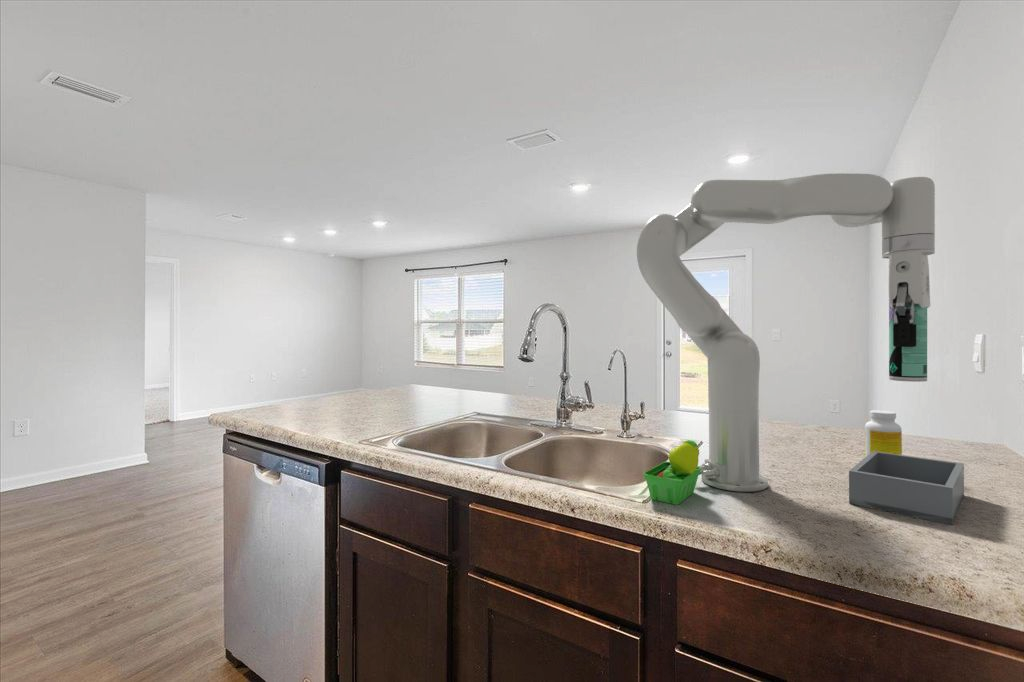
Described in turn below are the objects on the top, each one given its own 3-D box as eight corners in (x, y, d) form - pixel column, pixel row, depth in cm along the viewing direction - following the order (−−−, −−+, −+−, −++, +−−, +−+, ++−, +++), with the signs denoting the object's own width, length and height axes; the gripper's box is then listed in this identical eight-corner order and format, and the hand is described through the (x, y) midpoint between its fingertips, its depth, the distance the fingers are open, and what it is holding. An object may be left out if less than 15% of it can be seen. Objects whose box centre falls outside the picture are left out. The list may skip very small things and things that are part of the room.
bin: (952, 525, 78) (952, 488, 78) (849, 503, 88) (848, 470, 88) (963, 494, 92) (963, 463, 91) (873, 479, 102) (873, 450, 102)
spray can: (921, 379, 91) (921, 272, 90) (932, 382, 86) (932, 269, 85) (885, 378, 93) (885, 274, 93) (893, 381, 88) (893, 271, 88)
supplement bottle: (908, 472, 106) (908, 414, 106) (874, 471, 107) (874, 413, 107) (891, 464, 112) (891, 409, 112) (859, 463, 114) (859, 409, 113)
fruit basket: (665, 484, 101) (664, 431, 100) (708, 493, 95) (708, 436, 95) (641, 500, 92) (641, 441, 92) (688, 510, 86) (688, 447, 86)
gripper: (927, 239, 80) (927, 348, 81) (940, 249, 92) (940, 344, 92) (872, 245, 86) (872, 347, 86) (891, 254, 97) (891, 344, 98)
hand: (907, 345), depth 89 cm, fingers closed on spray can, 5 cm apart
